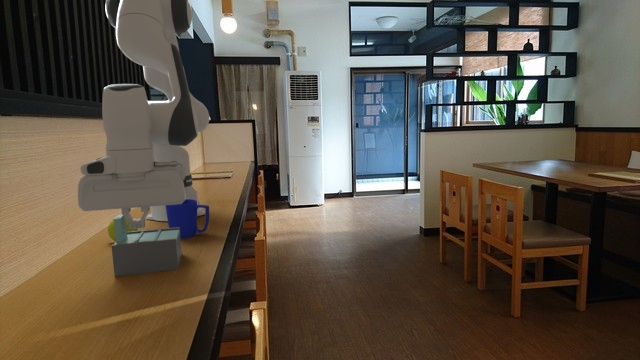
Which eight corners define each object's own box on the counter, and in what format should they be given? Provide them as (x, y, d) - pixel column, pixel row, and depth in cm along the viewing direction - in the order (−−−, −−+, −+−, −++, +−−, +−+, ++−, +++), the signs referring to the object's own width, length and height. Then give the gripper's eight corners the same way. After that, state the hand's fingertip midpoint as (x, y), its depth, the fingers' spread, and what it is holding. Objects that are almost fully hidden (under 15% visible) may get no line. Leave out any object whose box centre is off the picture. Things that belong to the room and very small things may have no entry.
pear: (143, 240, 102) (140, 204, 101) (117, 248, 97) (113, 209, 95) (130, 236, 106) (127, 202, 105) (104, 243, 101) (100, 206, 99)
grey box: (125, 262, 85) (122, 232, 84) (182, 256, 89) (179, 227, 88) (115, 279, 76) (111, 245, 75) (178, 272, 79) (175, 239, 78)
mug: (202, 243, 99) (200, 205, 97) (161, 241, 101) (158, 204, 100) (217, 234, 107) (215, 199, 105) (178, 232, 109) (176, 198, 108)
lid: (122, 238, 84) (119, 212, 83) (179, 232, 87) (177, 208, 86) (113, 249, 76) (110, 221, 75) (176, 243, 79) (174, 216, 78)
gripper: (185, 159, 84) (189, 219, 86) (81, 164, 79) (88, 228, 81) (183, 161, 78) (188, 226, 80) (70, 167, 73) (79, 236, 75)
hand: (137, 227), depth 80 cm, fingers closed
